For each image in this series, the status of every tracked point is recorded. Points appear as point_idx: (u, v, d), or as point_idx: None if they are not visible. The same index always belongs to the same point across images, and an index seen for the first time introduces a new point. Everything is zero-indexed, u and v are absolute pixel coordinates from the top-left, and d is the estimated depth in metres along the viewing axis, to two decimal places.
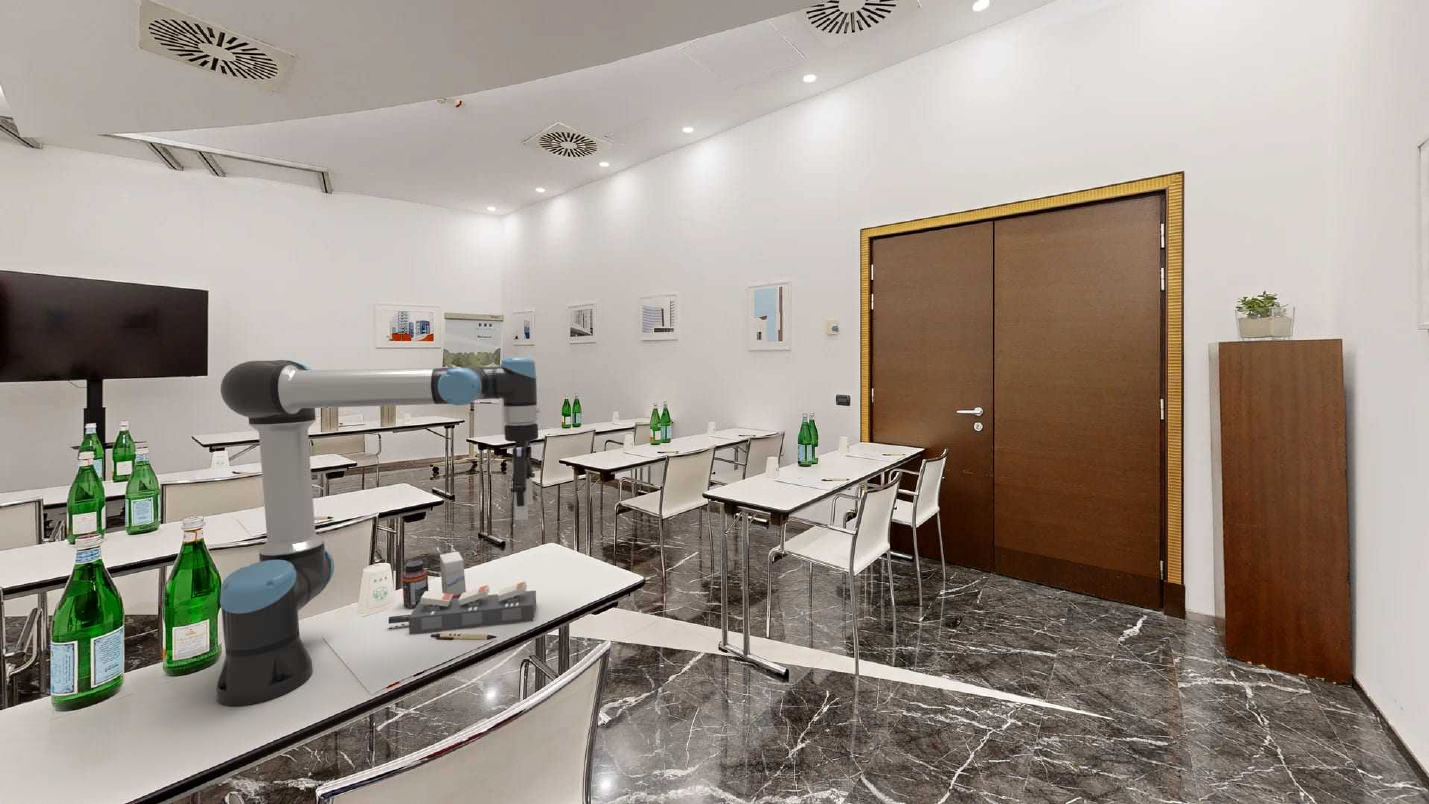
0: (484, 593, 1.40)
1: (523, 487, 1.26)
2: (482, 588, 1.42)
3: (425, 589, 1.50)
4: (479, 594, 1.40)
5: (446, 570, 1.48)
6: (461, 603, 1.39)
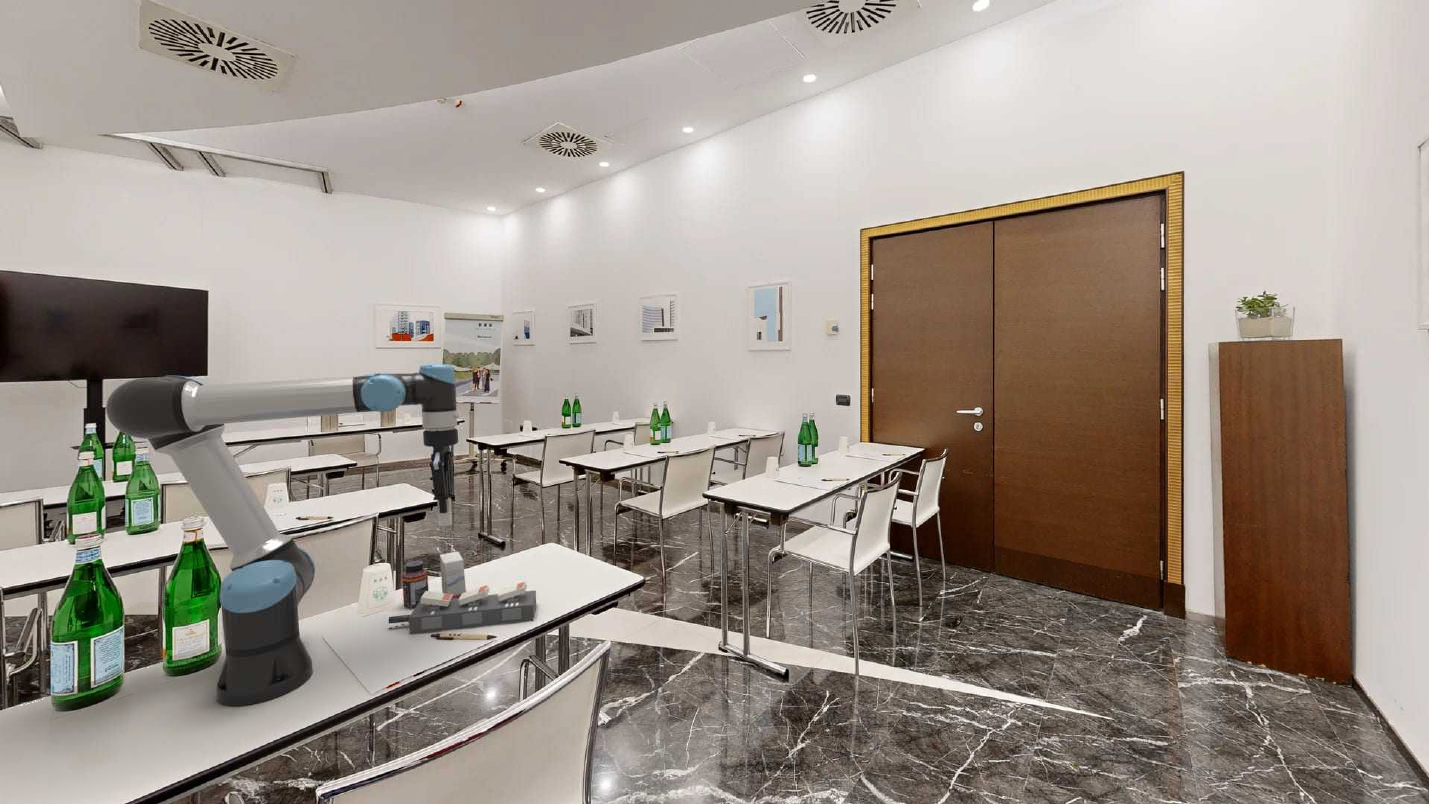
0: (484, 593, 1.40)
1: (444, 497, 1.35)
2: (482, 588, 1.42)
3: (425, 589, 1.50)
4: (479, 594, 1.40)
5: (446, 570, 1.48)
6: (461, 603, 1.39)
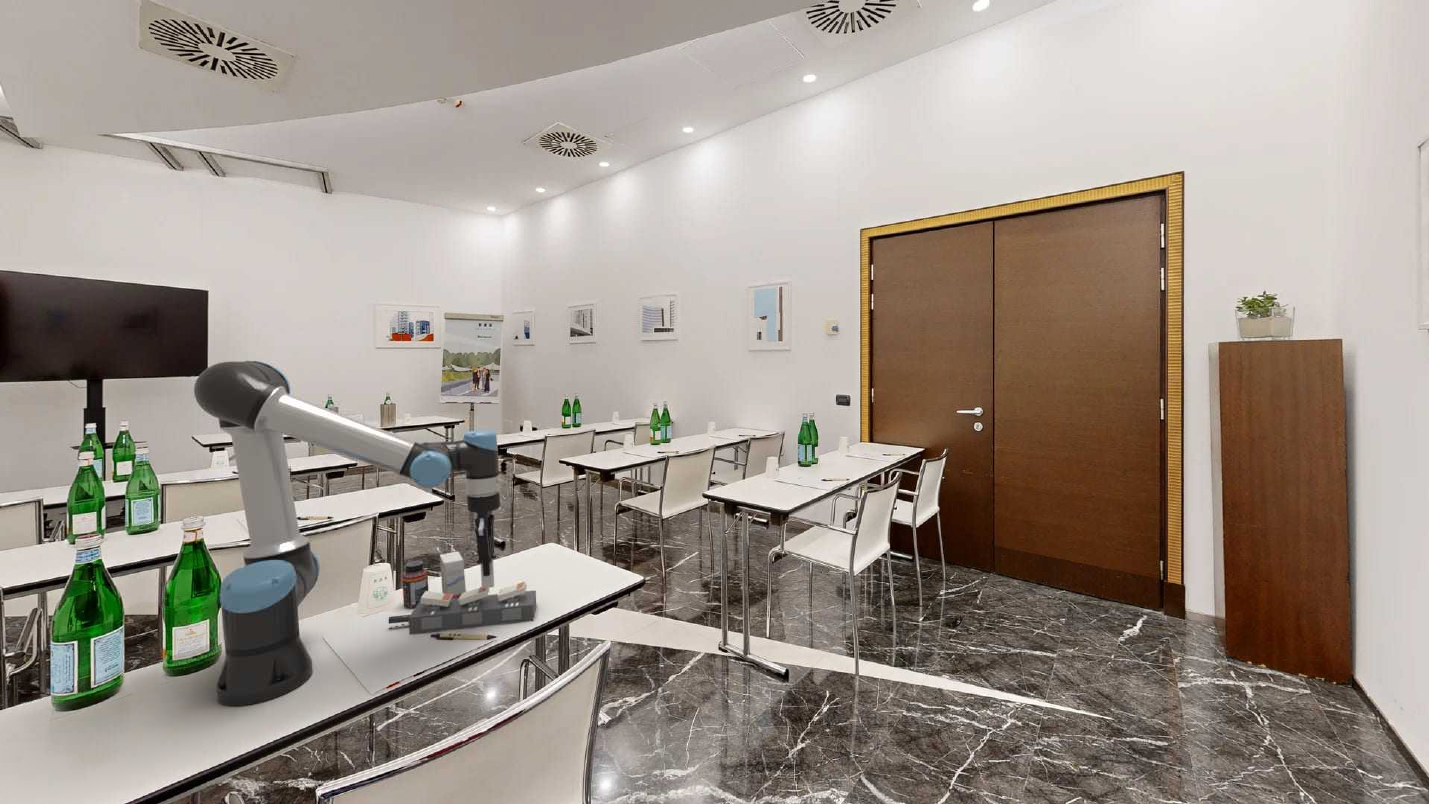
0: (484, 593, 1.40)
1: (488, 561, 1.38)
2: (482, 588, 1.42)
3: (425, 589, 1.50)
4: (479, 594, 1.40)
5: (446, 570, 1.48)
6: (461, 603, 1.39)
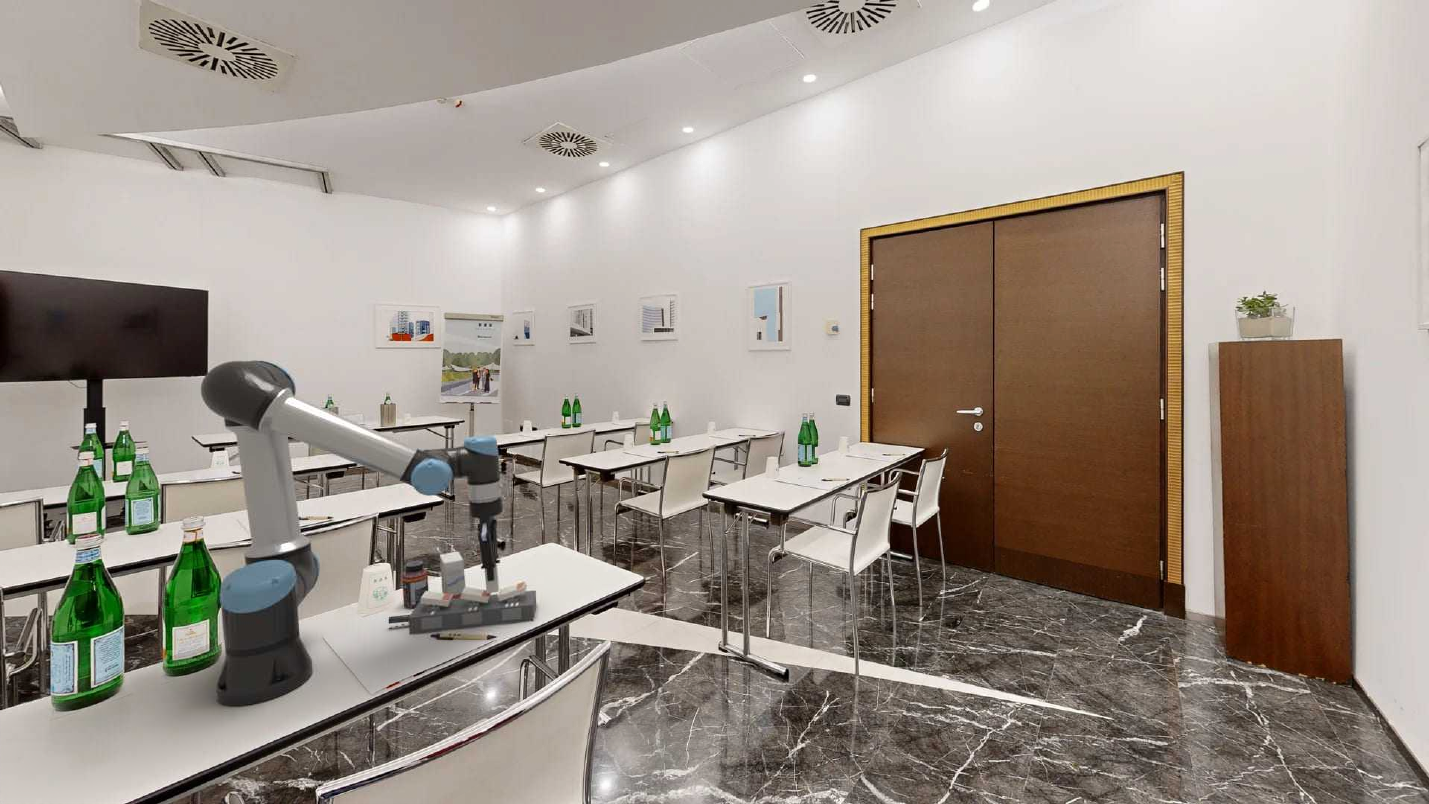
0: (486, 599, 1.40)
1: (492, 566, 1.38)
2: (486, 592, 1.42)
3: (425, 589, 1.50)
4: (482, 597, 1.40)
5: (446, 570, 1.48)
6: (462, 597, 1.39)
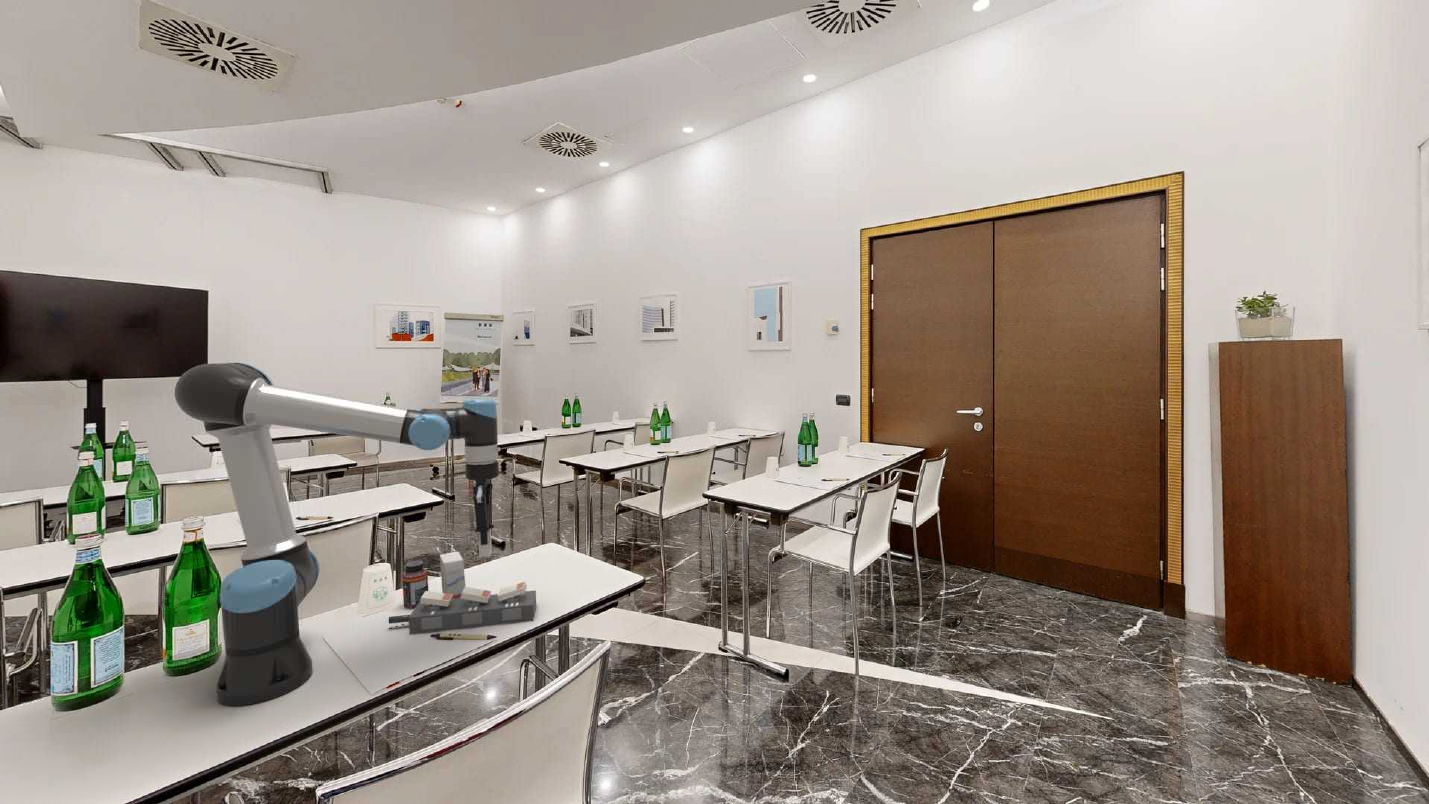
0: (486, 599, 1.40)
1: (486, 529, 1.37)
2: (486, 592, 1.42)
3: (425, 589, 1.50)
4: (482, 597, 1.40)
5: (446, 570, 1.48)
6: (462, 597, 1.39)
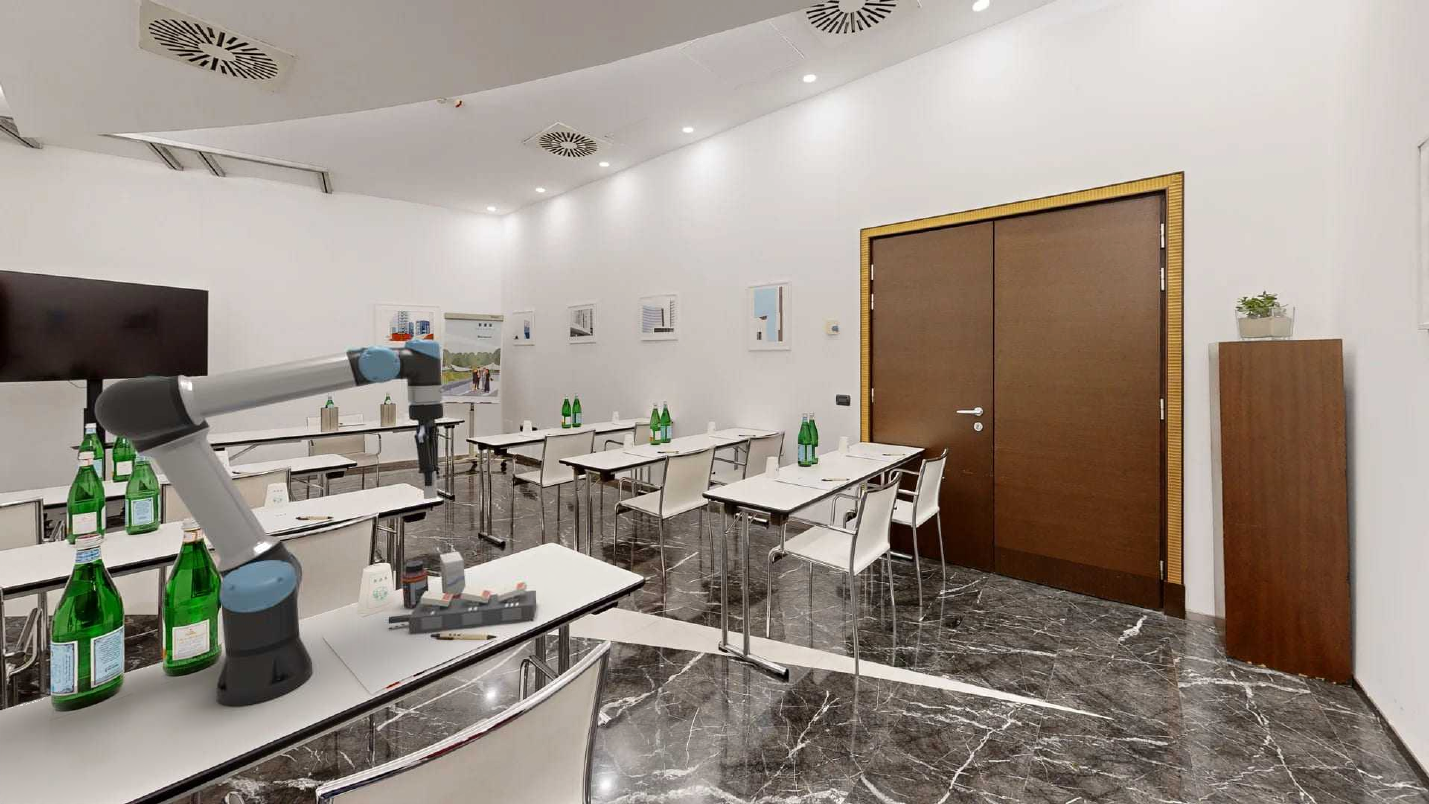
0: (486, 599, 1.40)
1: (429, 470, 1.37)
2: (486, 592, 1.42)
3: (425, 589, 1.50)
4: (482, 597, 1.40)
5: (446, 570, 1.48)
6: (462, 597, 1.39)
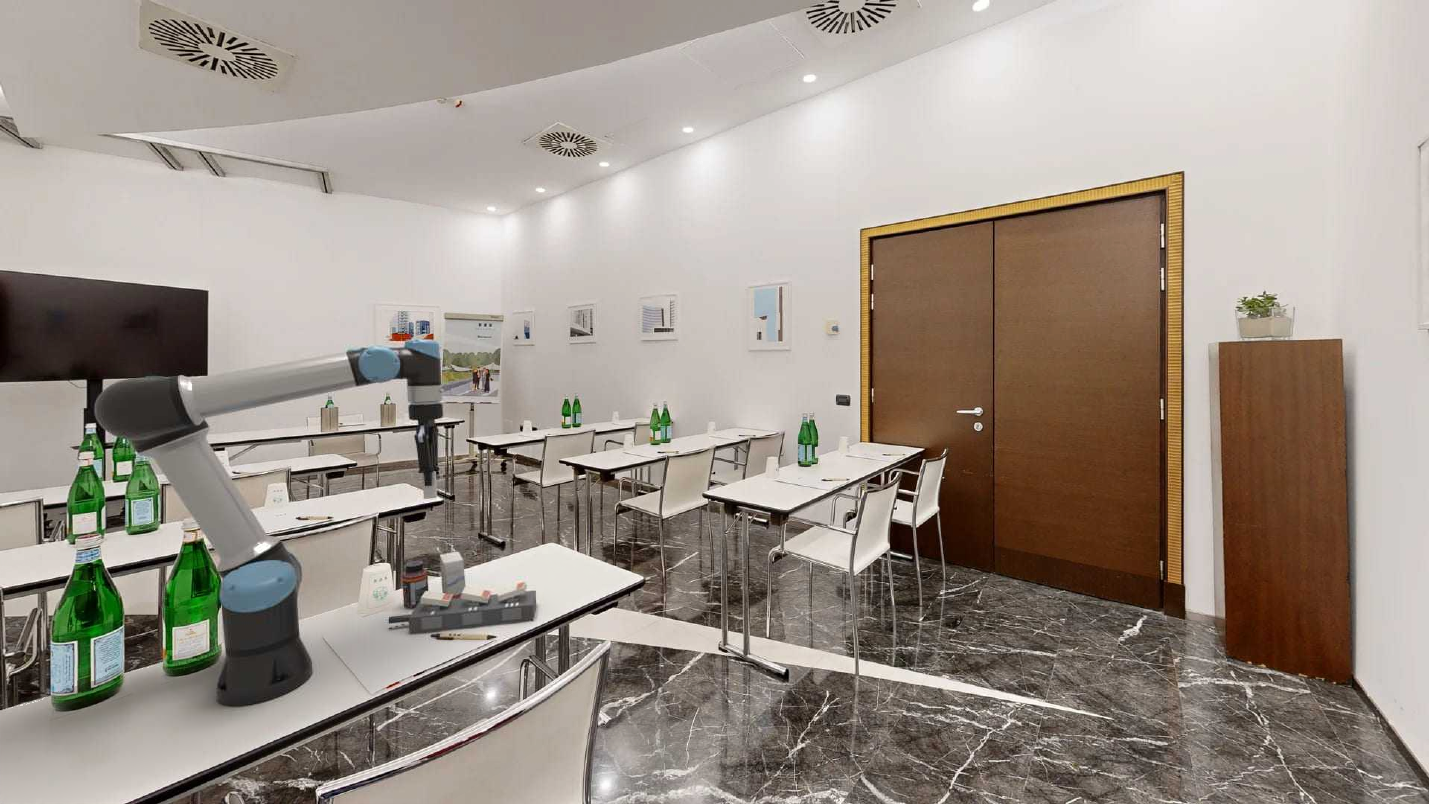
0: (486, 599, 1.40)
1: (429, 470, 1.37)
2: (486, 592, 1.42)
3: (425, 589, 1.50)
4: (482, 597, 1.40)
5: (446, 570, 1.48)
6: (462, 597, 1.39)
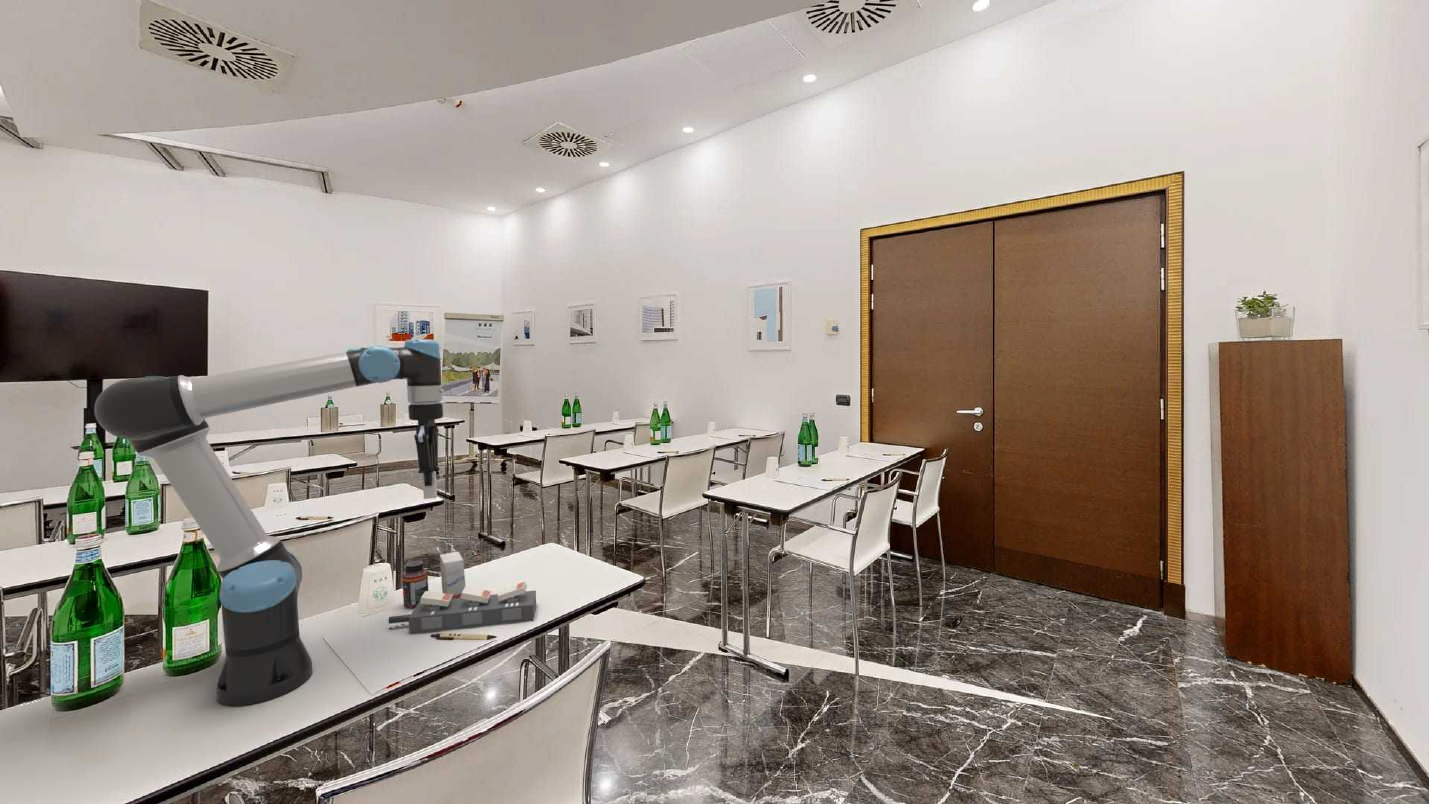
0: (486, 599, 1.40)
1: (429, 470, 1.37)
2: (486, 592, 1.42)
3: (425, 589, 1.50)
4: (482, 597, 1.40)
5: (446, 570, 1.48)
6: (462, 597, 1.39)
